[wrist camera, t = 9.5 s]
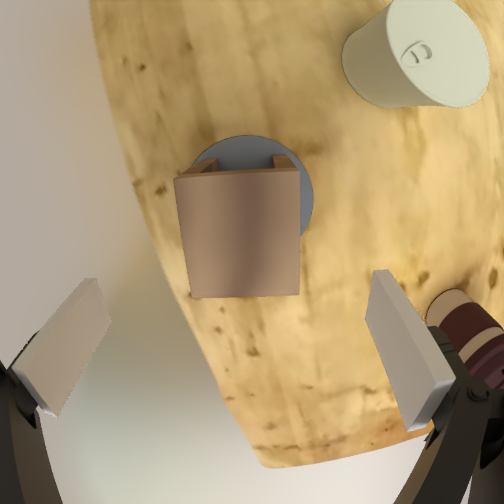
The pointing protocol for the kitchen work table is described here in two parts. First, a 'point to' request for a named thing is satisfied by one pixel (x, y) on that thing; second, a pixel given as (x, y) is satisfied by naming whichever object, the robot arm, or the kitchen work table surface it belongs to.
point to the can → (418, 56)
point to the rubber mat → (260, 164)
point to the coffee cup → (471, 335)
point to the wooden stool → (240, 229)
